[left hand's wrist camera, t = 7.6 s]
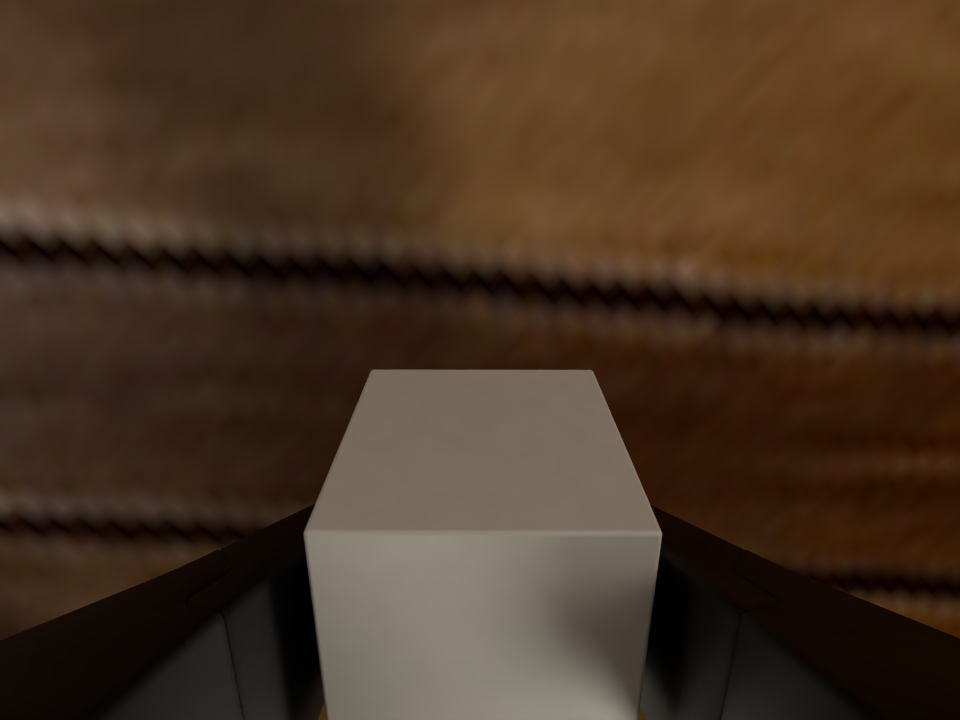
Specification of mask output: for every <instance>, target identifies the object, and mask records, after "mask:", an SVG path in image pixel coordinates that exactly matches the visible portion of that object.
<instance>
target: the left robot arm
mask: <svg viewBox="0 0 960 720" xmlns="http://www.w3.org/2000/svg"><path fill="white" fill-rule="evenodd" d="M315 504H316V503H315ZM315 504H313V505H311V506H309V507H307V508H305V509H303V510H301V511H299V512H297V513H295V514H293V515H291V516H288V517H286V518H284V519H282V520H280V521H278V522H276V523H274V524H272V525H270V526H268V527H266V528H264V529H261V530H259V531H257V532H255V533H253V534H251V535H249V536H247V537H245V538H243V539H241V540H239V541H237V542H234V543H232V544H230V545H228V546H226V547H224V548H222V549H221V550H216V551H214V552H212V553H210V554H208V555H206V556H204V557H202V558H199V559H197V560H195V561H193V562H191V563H188V564H186V565H184V566H182V567H180V568H177V569H175V570H173V571H170V572H168V573H166V574H163V575H161V576H158V577H156V578H154V579H151V580H149V581H147V582H144V583H142V584H139V585H137V586H134V587H132V588H129V589H127V590H124V591H122V592H119V593H117V594H115V595H112V596H110V597H107V598H105V599H102V600H100V601H97V602H95V603H92V604H90V605H87V606H85V607H82V608H80V609H77V610H75V611H73V612H70V613H68V614H65V615H63V616H60V617H58V618H55V619H53V620H50V621H48V622H45V623H43V624H40V625H38V626H35V627H33V628H31V629H28V630H26V631H23V632H21V633H18V634H16V635H13V636H11V637H8V638H6V639H3V640H1V641H0V720H318V718H319V715H320V713H321V710H322V707H323V704H324V696H323V688H322V680H321V672H320V664H319V656H318V647H317V639H316V631H315V623H314V615H313V607H312V599H311V591H310V583H309V575H308V567H307V559H306V551H305V543H304V535H303V533H304V530H305V528H306V526H307V523H308V521H309V518H310V516H311V514H312V511H313V509H314V506H315ZM650 506H651V508H652V511H653V513H654V515H655V518H656V520H657V522H658V525H659V527H660V529H661V532H662V540H661V548H660V555H659V563H658V570H657V578H656V586H655V593H654V601H653V608H652V616H651V624H650V631H649V639H648V647H647V654H646V662H645V669H644V677H643V685H642V692H641V700H640V706H641V709H642V712H643V715H644V717H645V720H960V639H959V638H957V637H954V636H952V635H950V634H947V633H945V632H942V631H940V630H937V629H935V628H932V627H930V626H927V625H925V624H922V623H920V622H917V621H915V620H912V619H910V618H907V617H905V616H902V615H900V614H897V613H895V612H892V611H890V610H887V609H885V608H882V607H880V606H877V605H875V604H872V603H870V602H867V601H865V600H862V599H860V598H857V597H855V596H852V595H850V594H847V593H845V592H843V591H840V590H838V589H835V588H833V587H830V586H828V585H825V584H823V583H820V582H818V581H815V580H813V579H810V578H808V577H806V576H803V575H801V574H798V573H796V572H794V571H791V570H789V569H787V568H784V567H782V566H780V565H778V564H776V563H773V562H771V561H769V560H767V559H765V558H762V557H760V556H758V555H756V554H754V553H752V552H750V551H748V550H744V551H743V549H742V548H740V547H737V546H735V545H733V544H731V543H729V542H727V541H725V540H723V539H721V538H719V537H717V536H714V535H712V534H710V533H708V532H706V531H704V530H702V529H700V528H698V527H696V526H693V525H691V524H689V523H687V522H685V521H683V520H681V519H679V518H677V517H675V516H673V515H670V514H668V513H666V512H664V511H662V510H660V509H658V508H656V507H654V506H652V505H650Z"/></svg>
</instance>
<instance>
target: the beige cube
mask: <svg viewBox="0 0 960 720" xmlns="http://www.w3.org/2000/svg"><path fill="white" fill-rule="evenodd" d="M303 535H304V543H305V551H306V559H307V567H308V575H309V583H310V591H311V599H312V607H313V615H314V623H315V631H316V639H317V647H318V656H319V664H320V672H321V680H322V688H323V696H324V704H325V712H326V720H638V715H639V708H640V700H641V692H642V685H643V677H644V669H645V662H646V654H647V647H648V639H649V631H650V624H651V616H652V608H653V601H654V593H655V586H656V578H657V570H658V563H659V555H660V548H661V540H662V532H661V529H660V527H659V525H658V522H657V520H656V518H655V515H654V513H653V511H652V508H651V506H650V504H649V501H648V499H647V497H646V494H645V492H644V490H643V487H642V485H641V483H640V480H639V478H638V476H637V473H636V471H635V469H634V466H633V464H632V462H631V459H630V457H629V455H628V452H627V450H626V448H625V445H624V443H623V441H622V438H621V436H620V434H619V431H618V429H617V427H616V424H615V422H614V420H613V417H612V415H611V413H610V410H609V408H608V406H607V403H606V401H605V399H604V396H603V394H602V392H601V389H600V387H599V385H598V382H597V380H596V378H595V375H594V373H593V371H591V370H372V371H371V372H370V374H369V377H368V379H367V382H366V384H365V386H364V389H363V391H362V394H361V396H360V398H359V401H358V403H357V406H356V408H355V410H354V413H353V415H352V418H351V420H350V422H349V425H348V427H347V430H346V432H345V434H344V437H343V439H342V442H341V444H340V446H339V449H338V451H337V454H336V456H335V458H334V461H333V463H332V466H331V468H330V470H329V473H328V475H327V478H326V480H325V482H324V485H323V487H322V490H321V492H320V494H319V497H318V499H317V502H316V504H315V506H314V509H313V511H312V514H311V516H310V518H309V521H308V523H307V526H306V528H305V530H304V533H303Z"/></svg>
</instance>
